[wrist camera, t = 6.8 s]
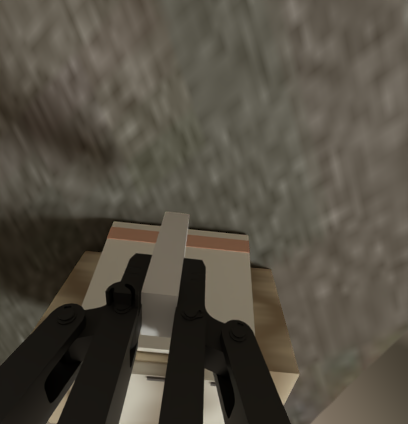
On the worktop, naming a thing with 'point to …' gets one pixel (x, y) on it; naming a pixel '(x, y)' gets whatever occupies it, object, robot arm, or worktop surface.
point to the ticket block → (157, 362)
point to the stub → (195, 249)
